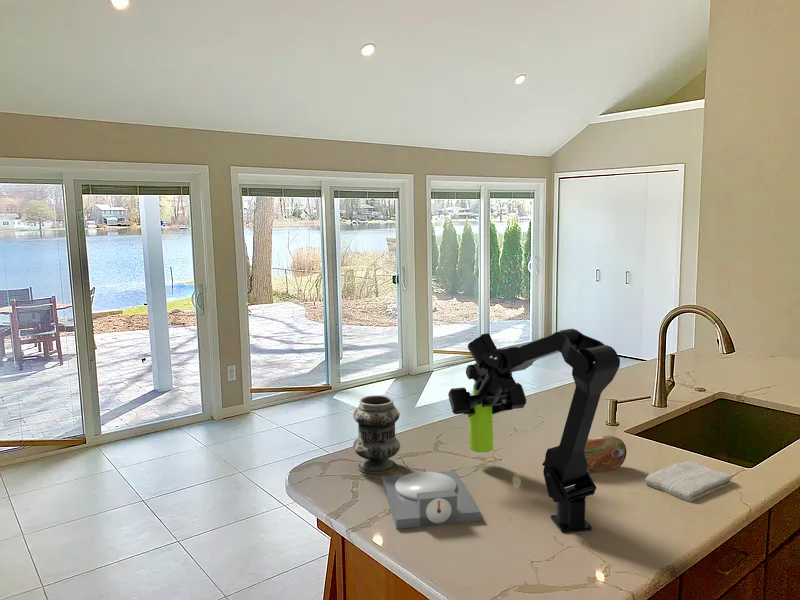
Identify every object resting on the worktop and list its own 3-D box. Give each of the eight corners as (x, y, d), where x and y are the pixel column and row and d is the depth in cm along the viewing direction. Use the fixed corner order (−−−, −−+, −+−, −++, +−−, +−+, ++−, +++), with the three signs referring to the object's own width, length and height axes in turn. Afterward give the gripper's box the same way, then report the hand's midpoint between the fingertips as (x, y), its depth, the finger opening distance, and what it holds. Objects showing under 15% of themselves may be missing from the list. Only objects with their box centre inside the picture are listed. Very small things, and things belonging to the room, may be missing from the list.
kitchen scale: (481, 521, 133) (480, 494, 132) (396, 529, 131) (396, 502, 130) (455, 478, 155) (455, 454, 154) (382, 484, 153) (382, 460, 152)
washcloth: (734, 485, 149) (735, 472, 149) (690, 505, 140) (691, 492, 139) (687, 468, 159) (688, 456, 159) (643, 486, 149) (643, 474, 149)
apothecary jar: (402, 475, 158) (400, 405, 155) (354, 477, 157) (351, 407, 154) (399, 456, 170) (397, 391, 167) (354, 458, 169) (352, 393, 166)
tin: (573, 476, 155) (574, 443, 154) (567, 471, 158) (567, 439, 157) (626, 468, 159) (627, 436, 158) (619, 463, 162) (620, 432, 161)
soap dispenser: (463, 450, 161) (461, 374, 159) (478, 442, 166) (476, 368, 164) (483, 455, 157) (481, 377, 155) (497, 447, 163) (496, 371, 160)
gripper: (521, 351, 157) (505, 384, 169) (449, 357, 153) (438, 390, 165) (535, 390, 150) (517, 421, 162) (460, 397, 146) (447, 428, 158)
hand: (479, 414), depth 162 cm, fingers closed on soap dispenser, 6 cm apart
